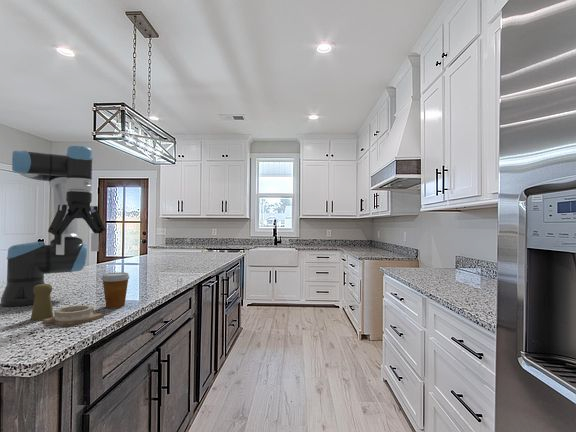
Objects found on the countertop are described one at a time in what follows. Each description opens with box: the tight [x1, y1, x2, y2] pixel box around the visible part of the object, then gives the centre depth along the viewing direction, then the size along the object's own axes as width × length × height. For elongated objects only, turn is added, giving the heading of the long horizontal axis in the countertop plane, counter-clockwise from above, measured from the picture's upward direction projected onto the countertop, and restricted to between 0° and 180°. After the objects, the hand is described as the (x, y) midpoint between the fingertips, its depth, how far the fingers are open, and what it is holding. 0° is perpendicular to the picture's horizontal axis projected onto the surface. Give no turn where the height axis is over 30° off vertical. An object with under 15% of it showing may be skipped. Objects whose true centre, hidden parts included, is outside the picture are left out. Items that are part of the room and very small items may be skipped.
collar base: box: [41, 304, 105, 328], centre depth 112 cm, size 12×12×4 cm
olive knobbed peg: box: [30, 283, 54, 321], centre depth 115 cm, size 6×6×11 cm
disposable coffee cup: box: [101, 271, 130, 309], centre depth 131 cm, size 10×10×12 cm
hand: (78, 253), depth 120 cm, fingers open, 13 cm apart
